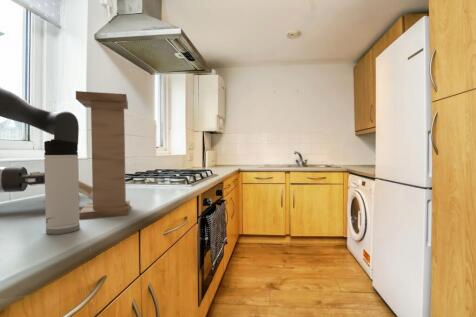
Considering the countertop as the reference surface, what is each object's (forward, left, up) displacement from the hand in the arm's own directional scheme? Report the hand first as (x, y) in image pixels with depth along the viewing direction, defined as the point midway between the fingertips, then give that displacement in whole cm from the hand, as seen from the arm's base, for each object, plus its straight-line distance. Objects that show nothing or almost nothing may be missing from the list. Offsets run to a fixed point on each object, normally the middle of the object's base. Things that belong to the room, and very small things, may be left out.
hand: (71, 177), depth 88 cm
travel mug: (+31, +4, -10) cm, 33 cm away
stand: (+13, +11, -9) cm, 20 cm away
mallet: (0, +2, -5) cm, 5 cm away
